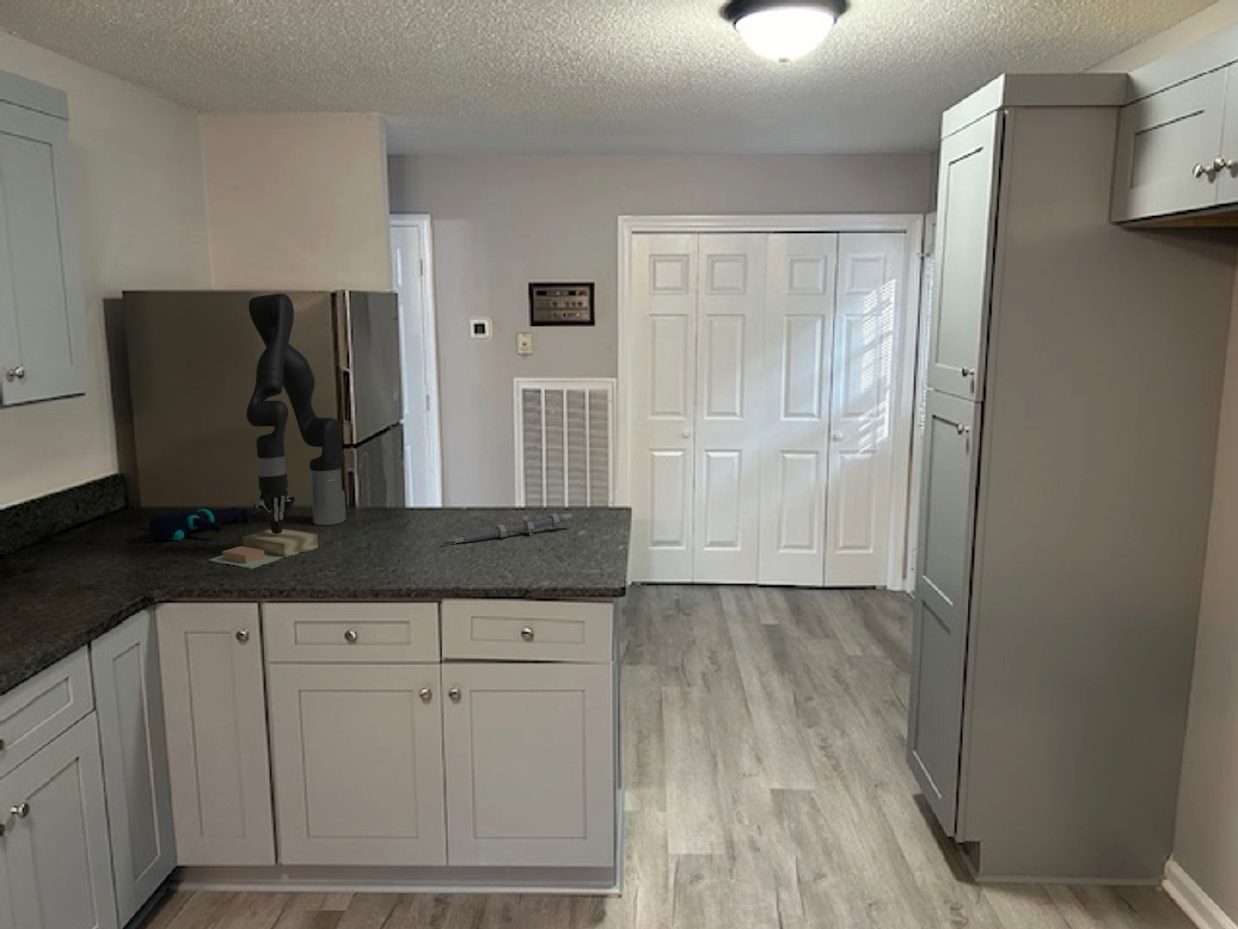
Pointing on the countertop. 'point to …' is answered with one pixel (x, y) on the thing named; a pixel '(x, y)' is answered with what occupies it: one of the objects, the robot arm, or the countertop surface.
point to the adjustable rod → (516, 528)
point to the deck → (282, 542)
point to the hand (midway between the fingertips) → (277, 533)
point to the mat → (250, 565)
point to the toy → (191, 521)
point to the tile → (243, 554)
